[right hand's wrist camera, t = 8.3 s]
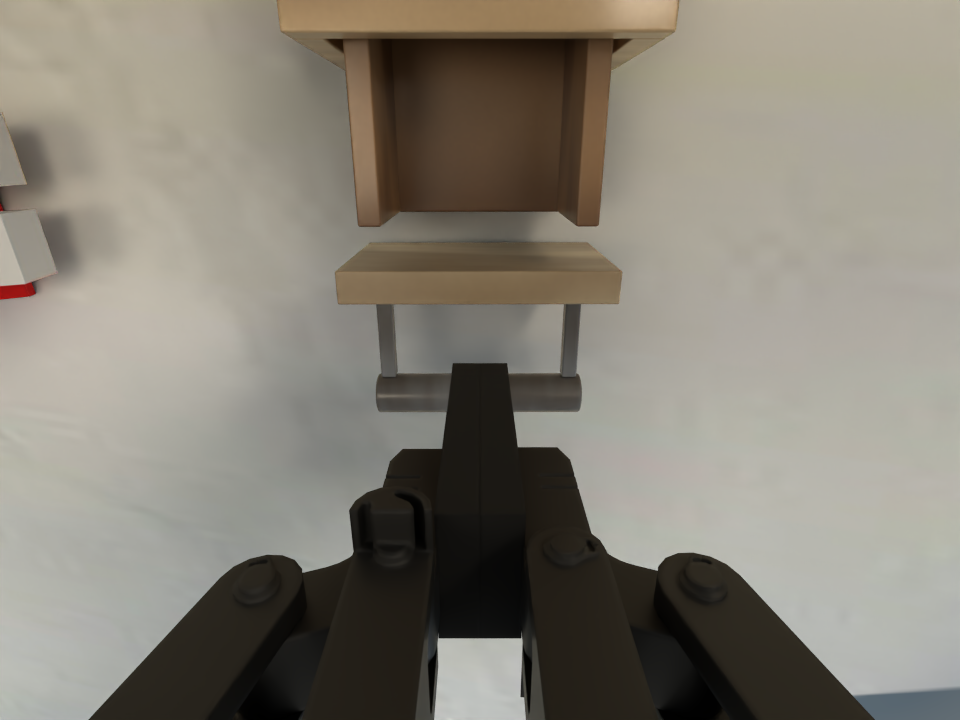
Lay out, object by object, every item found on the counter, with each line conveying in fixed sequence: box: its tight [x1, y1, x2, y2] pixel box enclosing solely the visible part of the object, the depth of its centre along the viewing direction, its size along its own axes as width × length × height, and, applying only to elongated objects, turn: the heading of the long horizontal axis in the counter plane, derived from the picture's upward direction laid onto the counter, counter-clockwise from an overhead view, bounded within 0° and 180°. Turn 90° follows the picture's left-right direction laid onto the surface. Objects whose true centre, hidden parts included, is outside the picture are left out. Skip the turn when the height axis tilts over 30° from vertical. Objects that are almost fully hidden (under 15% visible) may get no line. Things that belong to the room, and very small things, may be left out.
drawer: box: [335, 38, 622, 412], centre depth 20 cm, size 24×10×6 cm, turn 0°
